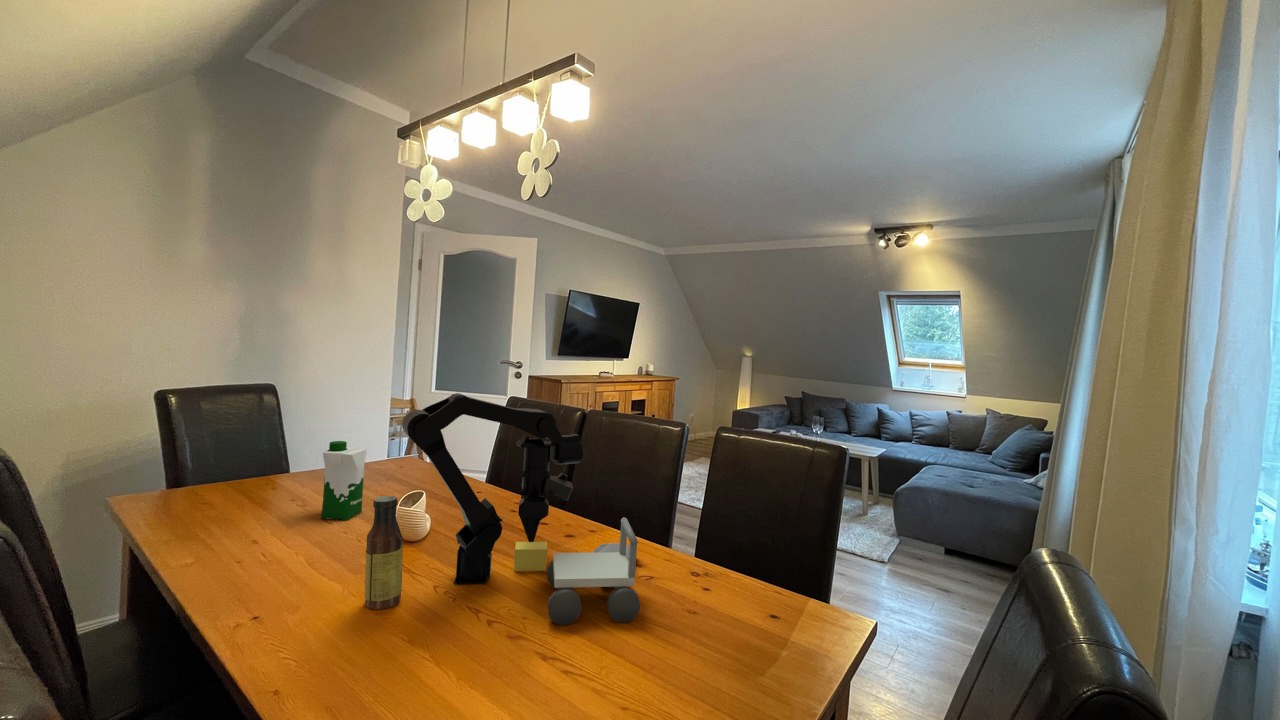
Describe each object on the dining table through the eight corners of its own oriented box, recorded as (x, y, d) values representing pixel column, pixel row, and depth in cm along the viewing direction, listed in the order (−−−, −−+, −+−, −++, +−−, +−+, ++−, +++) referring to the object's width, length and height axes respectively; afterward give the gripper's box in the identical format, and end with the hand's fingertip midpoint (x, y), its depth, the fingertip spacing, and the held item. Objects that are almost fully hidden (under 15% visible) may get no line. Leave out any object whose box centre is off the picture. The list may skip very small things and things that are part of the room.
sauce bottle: (408, 599, 98) (414, 496, 98) (382, 614, 92) (388, 505, 92) (381, 592, 100) (387, 491, 100) (354, 606, 95) (360, 499, 94)
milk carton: (335, 509, 144) (339, 438, 144) (367, 511, 144) (371, 441, 144) (315, 519, 136) (319, 444, 135) (349, 522, 135) (353, 447, 135)
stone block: (585, 580, 116) (628, 578, 114) (582, 559, 116) (625, 556, 114) (599, 561, 127) (638, 559, 125) (597, 542, 128) (636, 539, 126)
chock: (513, 571, 113) (515, 549, 113) (514, 563, 118) (516, 541, 118) (545, 571, 115) (547, 549, 115) (545, 562, 119) (546, 541, 119)
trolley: (547, 625, 92) (552, 543, 92) (546, 584, 108) (550, 513, 108) (639, 622, 96) (644, 542, 95) (625, 583, 111) (630, 514, 111)
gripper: (574, 477, 108) (569, 550, 109) (569, 457, 127) (565, 520, 127) (521, 476, 106) (515, 550, 106) (523, 456, 124) (519, 520, 125)
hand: (531, 534), depth 116 cm, fingers open, 9 cm apart
